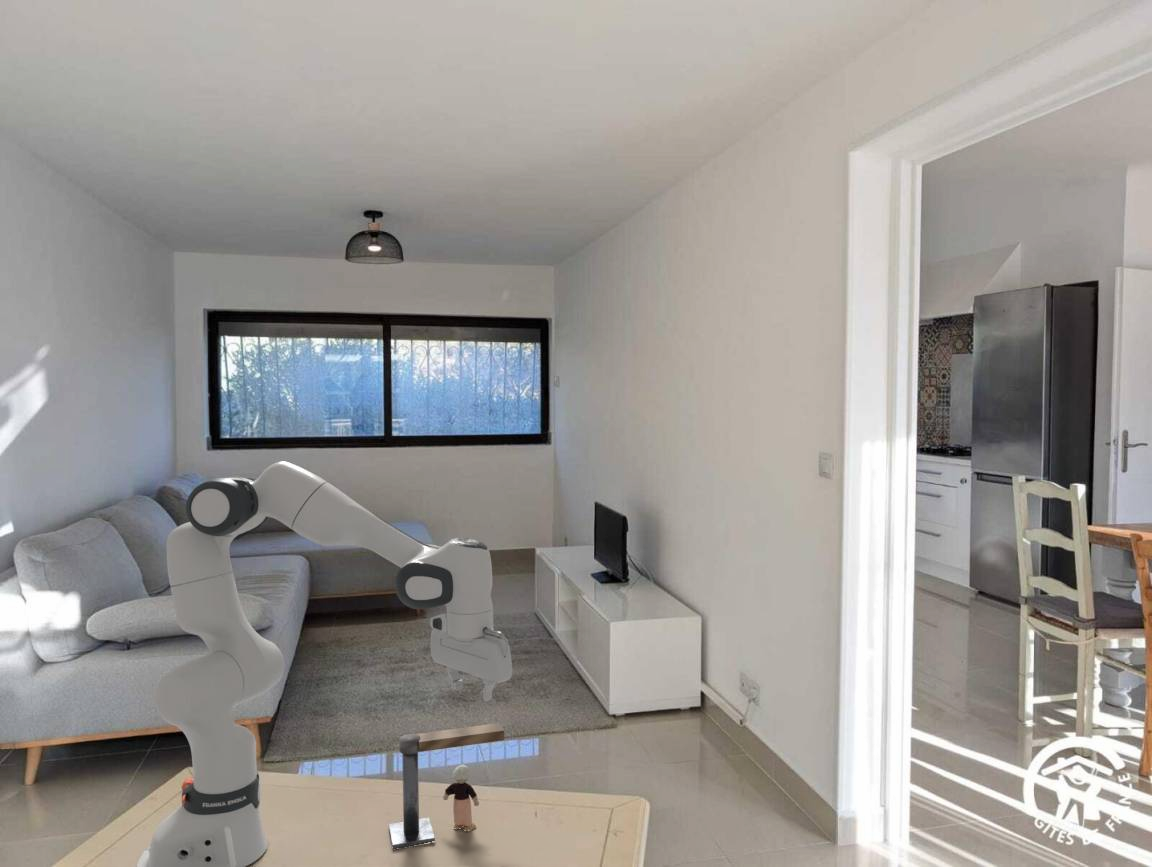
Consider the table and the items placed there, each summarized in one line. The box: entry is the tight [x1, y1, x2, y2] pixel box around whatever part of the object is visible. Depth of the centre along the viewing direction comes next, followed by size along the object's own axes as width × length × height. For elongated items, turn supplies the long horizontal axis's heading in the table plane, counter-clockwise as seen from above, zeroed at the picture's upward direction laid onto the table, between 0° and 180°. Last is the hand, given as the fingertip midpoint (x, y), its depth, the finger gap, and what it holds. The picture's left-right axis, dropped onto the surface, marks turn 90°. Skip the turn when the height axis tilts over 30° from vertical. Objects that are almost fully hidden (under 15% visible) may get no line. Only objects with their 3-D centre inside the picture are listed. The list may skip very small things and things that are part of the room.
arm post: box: [388, 752, 436, 850], centre depth 162 cm, size 8×8×17 cm
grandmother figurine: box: [442, 764, 480, 832], centre depth 165 cm, size 8×4×13 cm, turn 84°
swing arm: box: [399, 722, 505, 754], centre depth 164 cm, size 20×4×2 cm, turn 108°
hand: (471, 694), depth 158 cm, fingers open, 7 cm apart
